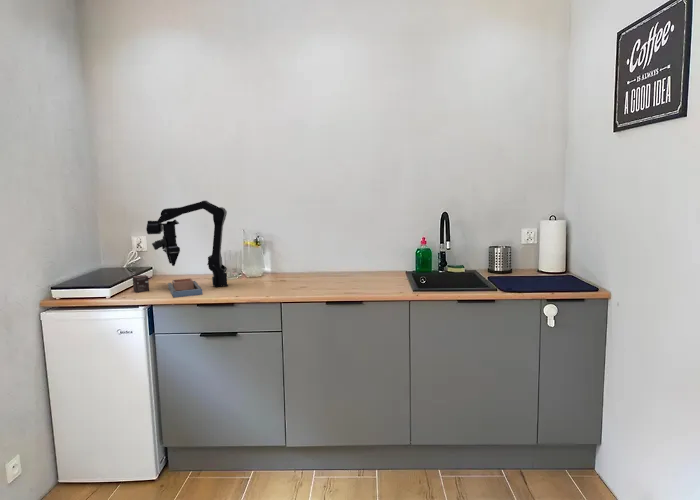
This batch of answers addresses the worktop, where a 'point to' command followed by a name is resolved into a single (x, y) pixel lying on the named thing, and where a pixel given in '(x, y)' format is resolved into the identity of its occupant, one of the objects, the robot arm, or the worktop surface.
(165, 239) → the robot arm
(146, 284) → the box
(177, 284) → the crate
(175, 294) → the crate bay
